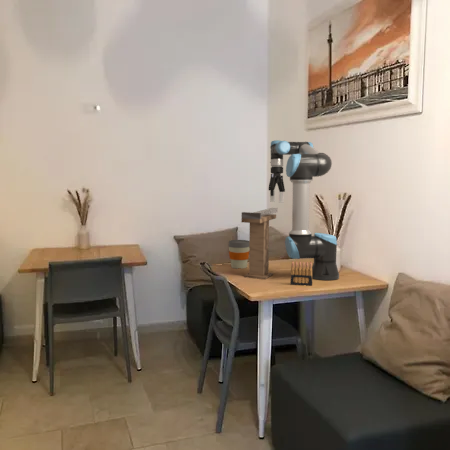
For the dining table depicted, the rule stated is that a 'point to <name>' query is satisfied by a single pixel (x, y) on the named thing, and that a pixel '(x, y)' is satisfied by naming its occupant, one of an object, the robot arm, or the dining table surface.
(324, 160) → the robot arm
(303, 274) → the ammunition clip
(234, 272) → the dining table surface
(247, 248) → the reusable coffee cup
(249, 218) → the stand
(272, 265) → the dining table surface
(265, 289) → the dining table surface
